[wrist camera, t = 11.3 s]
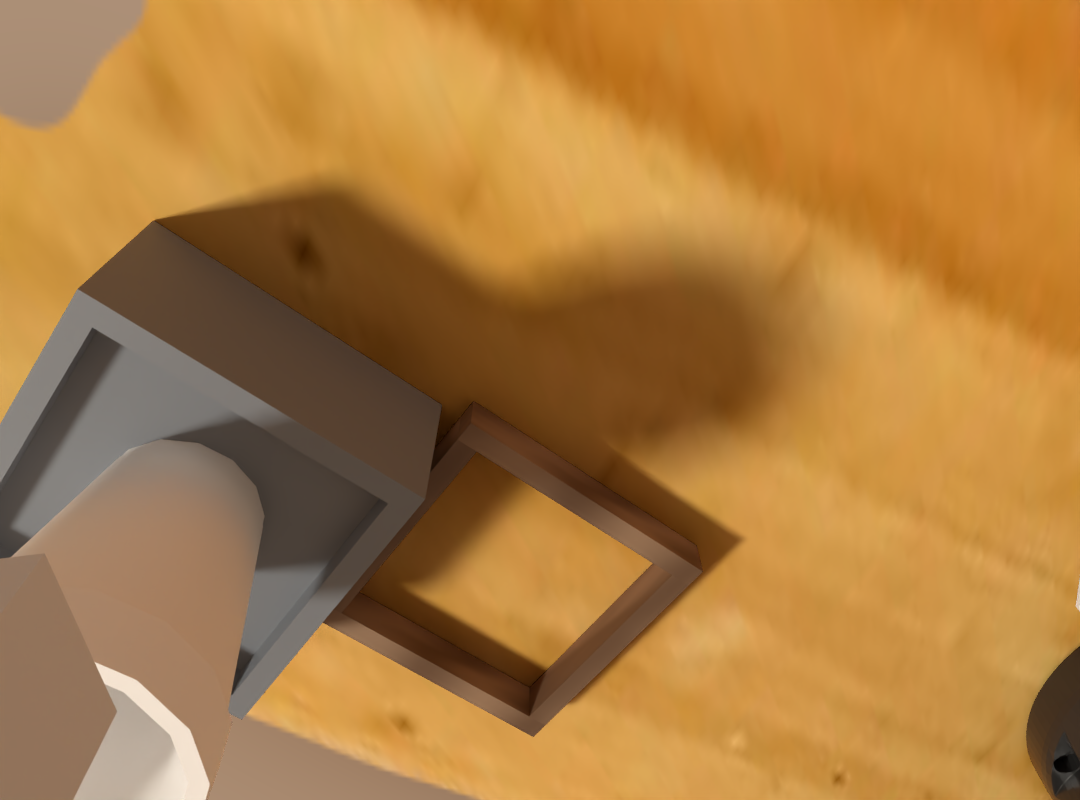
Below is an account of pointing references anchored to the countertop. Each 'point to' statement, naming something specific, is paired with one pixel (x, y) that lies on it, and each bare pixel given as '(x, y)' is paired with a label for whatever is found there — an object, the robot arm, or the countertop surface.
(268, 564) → the charcoal stand
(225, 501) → the foam cup
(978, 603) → the countertop surface
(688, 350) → the countertop surface
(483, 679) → the walnut collar
